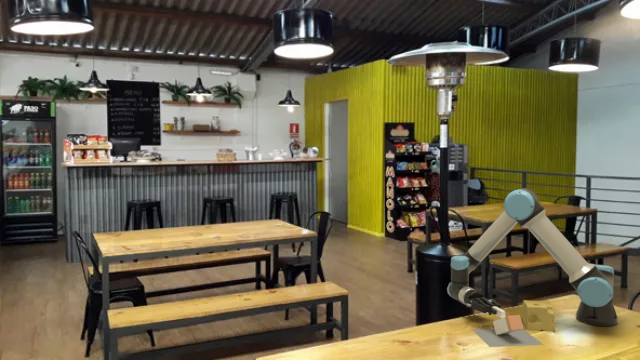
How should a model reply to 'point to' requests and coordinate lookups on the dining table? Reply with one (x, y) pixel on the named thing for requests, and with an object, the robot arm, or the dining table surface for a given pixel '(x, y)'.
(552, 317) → the cheese
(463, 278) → the robot arm
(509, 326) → the tall block
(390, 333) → the dining table surface
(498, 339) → the slate mat
